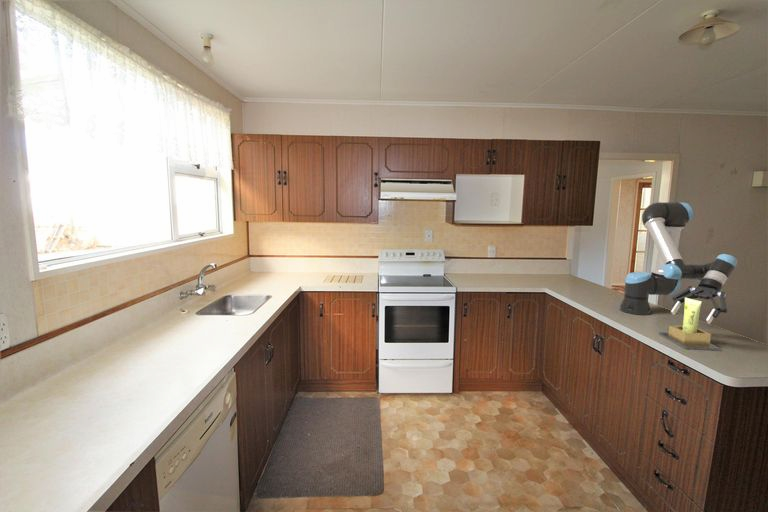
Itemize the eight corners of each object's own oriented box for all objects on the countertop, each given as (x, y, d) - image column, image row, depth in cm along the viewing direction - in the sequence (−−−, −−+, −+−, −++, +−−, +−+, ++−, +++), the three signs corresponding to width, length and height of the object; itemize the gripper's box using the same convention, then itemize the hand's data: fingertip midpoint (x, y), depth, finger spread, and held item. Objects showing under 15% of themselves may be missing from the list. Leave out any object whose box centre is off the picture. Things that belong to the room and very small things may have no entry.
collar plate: (658, 334, 171) (660, 322, 170) (690, 335, 169) (691, 323, 168) (685, 349, 153) (687, 336, 152) (720, 350, 151) (722, 337, 151)
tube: (679, 339, 161) (685, 299, 158) (679, 336, 165) (685, 297, 162) (696, 343, 157) (701, 301, 154) (695, 339, 161) (701, 299, 158)
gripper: (750, 293, 152) (727, 331, 149) (683, 282, 175) (662, 314, 172) (745, 282, 149) (721, 320, 146) (678, 272, 172) (656, 305, 169)
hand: (689, 317), depth 159 cm, fingers open, 13 cm apart
